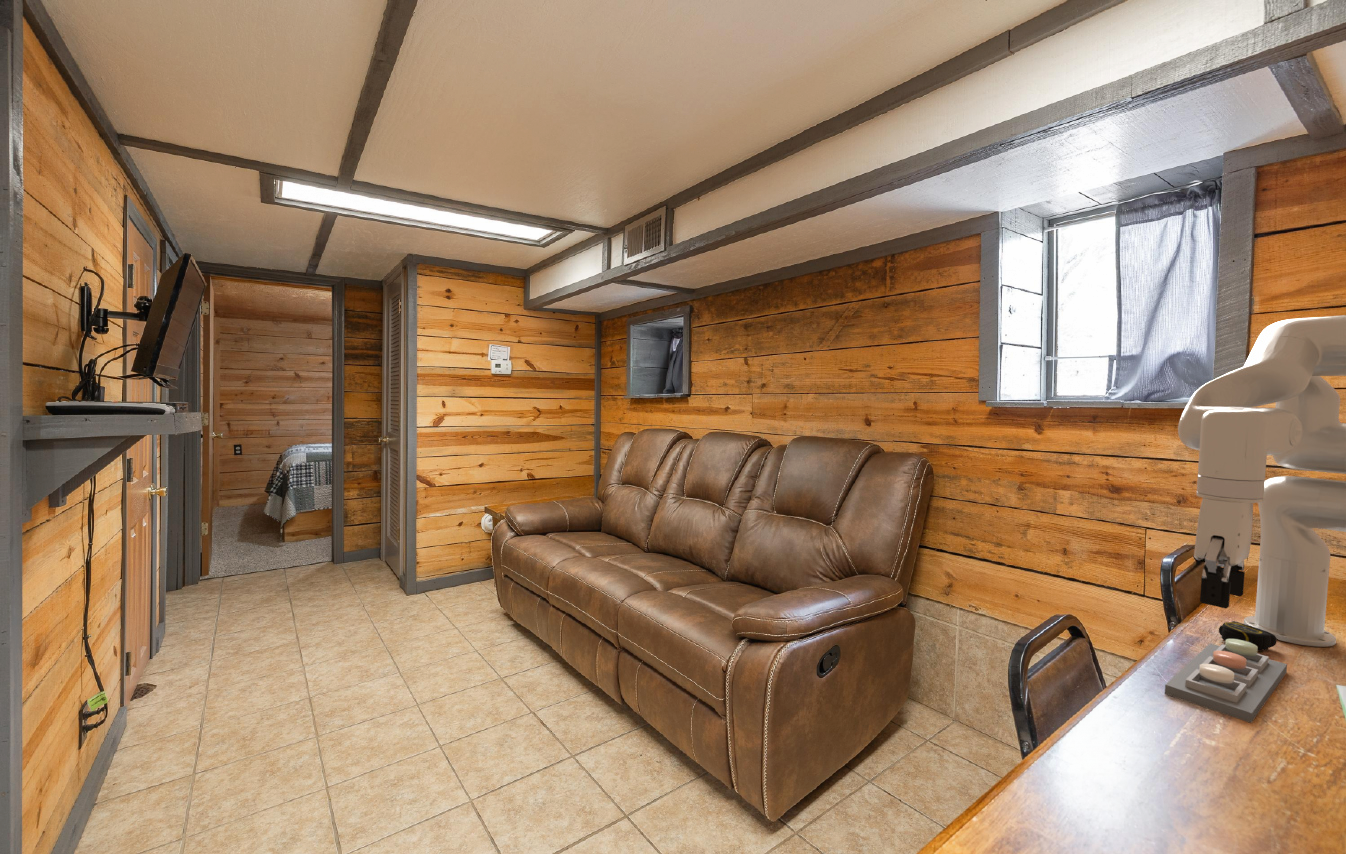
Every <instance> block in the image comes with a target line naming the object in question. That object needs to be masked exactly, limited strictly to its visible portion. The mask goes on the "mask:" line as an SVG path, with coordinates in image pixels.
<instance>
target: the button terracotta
mask: <svg viewBox="0 0 1346 854" xmlns="http://www.w3.org/2000/svg"><path fill="white" fill-rule="evenodd" d="M1213 660H1214V661H1215V662H1216V663H1218V664H1221V665H1223V666H1227V667H1230V668H1236V669H1245V668H1246V661H1247V660H1246V658H1244V657H1243V656H1240V655H1238V654H1235V653H1231V652H1227V651H1214V652H1213Z"/></svg>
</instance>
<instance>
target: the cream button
mask: <svg viewBox="0 0 1346 854" xmlns="http://www.w3.org/2000/svg"><path fill="white" fill-rule="evenodd" d="M1199 674H1200V675H1201V676H1203V677H1205V678H1207V679H1209V680H1212V681H1216V682H1220V683H1233V682H1234V672H1232V671H1231V670H1229V669H1227V668H1224V667H1221V666H1218V665H1213V664H1200V669H1199Z"/></svg>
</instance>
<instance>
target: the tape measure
mask: <svg viewBox="0 0 1346 854" xmlns="http://www.w3.org/2000/svg"><path fill="white" fill-rule="evenodd" d="M1218 633H1219V635H1220V636H1221V639H1222V640H1223V641H1224V642H1226V639H1238V640H1243V641H1247V642H1250V643H1252V644H1254V645H1256V646H1257V647H1258V651H1260V652H1261V651H1262V652H1263V651H1266V650H1268V649H1269V648H1272V647H1275V646H1276V645H1277V641H1278V640H1277V638H1276V637H1275V635H1273V634H1272V633H1269V632H1267V631H1264V630H1262V629H1259V628H1256V627H1253V626H1249V625H1245V624H1244V623H1242V622H1239V621H1233V620H1232V621H1230V622H1229V621H1225V622H1223V623H1222V625H1220V626H1219V628H1218Z"/></svg>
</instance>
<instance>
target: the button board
mask: <svg viewBox="0 0 1346 854" xmlns="http://www.w3.org/2000/svg"><path fill="white" fill-rule="evenodd" d="M1214 651H1227V652H1231V653H1235V652H1232V651H1230V650H1228V649H1226V648H1225V644H1223V643H1221V645H1218V644H1215V643H1211V642H1210V643H1209V644H1207V645H1206V646H1205V647H1204V648H1203V649H1201V651H1200V652H1198V654H1197V655H1196V656H1194V657H1193V659H1191V660H1190V661H1189V662H1188V663H1187V664H1185V666H1184V667H1183V668H1182V669H1180V670H1179V671H1178V672H1177V673H1176V674H1175V675H1174V676H1173V677H1172V678H1171V679H1170V680H1169V681H1168V682H1166V683H1165V685H1164V695H1168V696H1171V697H1174V698H1176V699H1179V700H1182V701H1185V702H1189V703H1190V704H1191V703H1192V704H1193V705H1197V706H1199V707H1203V708H1206V709H1208V710H1212V711H1215V712H1218V713H1220V714H1223V715H1227V716H1229V717H1233V718H1236V719H1238V720H1242V721H1244V722H1246V723H1249V724H1252V723H1253V721H1254V720H1255V718H1256V717H1257V715H1259V713H1260V712H1261V709H1262V708H1263V707H1264V705H1265V704H1266V703H1267V701H1269V698H1270V697H1271V695H1272V694H1273V693H1274V691H1275V690H1276V688H1277V687H1278V686H1279V684H1280V682H1282V680H1283V678H1284V676H1286V674H1287V671H1288V664H1287V663H1284V662H1281V661H1277V660H1273V659H1270V658H1269V656H1268V655H1263V654H1260V653H1257V655H1255V656H1249V655H1242V654H1238V653H1235V654H1238V655H1240V656H1243V657H1244V658H1246V660H1247V661H1246V668H1245V669H1236V668H1230V667H1227V666H1223V665H1221V664H1218V663H1216V662H1215V661H1214V660H1213V652H1214ZM1200 664H1213V665H1218V666H1221V667H1224V668H1227V669H1229V670H1231V671H1232V672H1234V682H1233V683H1220V682H1216V681H1212V680H1209V679H1207V678H1205V677H1203V676H1201V675H1200V674H1199V669H1200Z"/></svg>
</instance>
